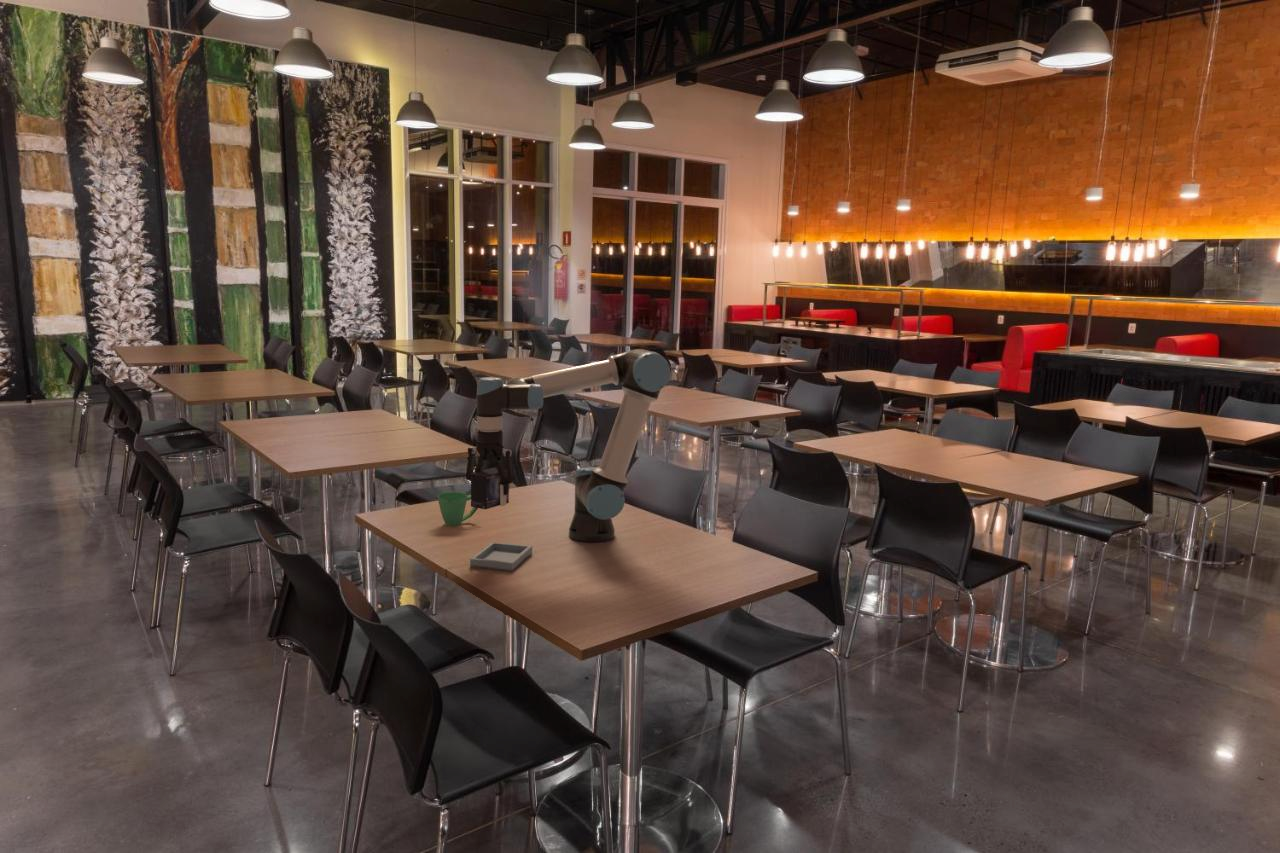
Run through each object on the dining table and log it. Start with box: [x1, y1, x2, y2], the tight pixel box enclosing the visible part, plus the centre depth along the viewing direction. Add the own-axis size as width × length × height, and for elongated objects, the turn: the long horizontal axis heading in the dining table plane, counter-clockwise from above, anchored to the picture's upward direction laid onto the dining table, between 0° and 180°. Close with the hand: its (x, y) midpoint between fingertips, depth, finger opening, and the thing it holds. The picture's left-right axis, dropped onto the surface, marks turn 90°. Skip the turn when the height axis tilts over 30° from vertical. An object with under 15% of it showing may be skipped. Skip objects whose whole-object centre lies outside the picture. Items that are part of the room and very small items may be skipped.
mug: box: [437, 491, 479, 527], centre depth 288 cm, size 15×10×10 cm
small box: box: [470, 467, 510, 510], centre depth 254 cm, size 11×6×10 cm, turn 147°
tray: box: [469, 541, 533, 573], centre depth 253 cm, size 13×17×2 cm
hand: (490, 503), depth 255 cm, fingers closed on small box, 8 cm apart
